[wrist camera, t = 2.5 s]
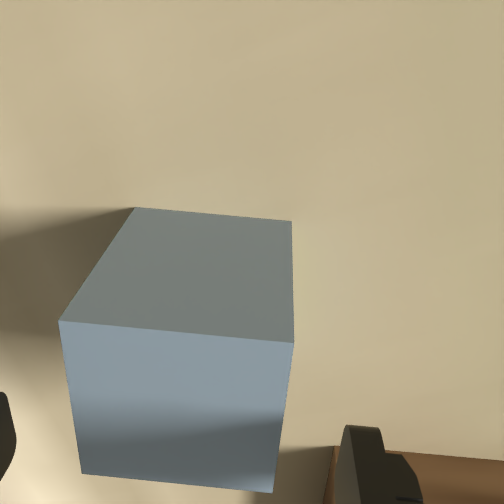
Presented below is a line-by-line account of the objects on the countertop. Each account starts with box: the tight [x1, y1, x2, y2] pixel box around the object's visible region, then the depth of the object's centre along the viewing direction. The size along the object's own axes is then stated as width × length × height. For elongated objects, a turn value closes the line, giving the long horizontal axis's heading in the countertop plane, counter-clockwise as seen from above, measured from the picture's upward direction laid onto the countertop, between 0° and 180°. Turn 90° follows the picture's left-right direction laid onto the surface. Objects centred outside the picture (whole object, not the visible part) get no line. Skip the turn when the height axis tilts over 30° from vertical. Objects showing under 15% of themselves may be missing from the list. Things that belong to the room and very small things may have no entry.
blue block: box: [58, 207, 294, 493], centre depth 14 cm, size 5×5×6 cm
